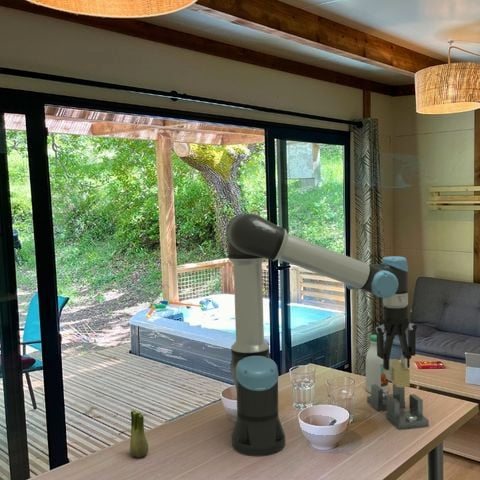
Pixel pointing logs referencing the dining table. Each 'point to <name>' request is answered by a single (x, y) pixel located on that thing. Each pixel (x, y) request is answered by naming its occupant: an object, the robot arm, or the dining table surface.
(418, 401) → the bracket
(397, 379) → the link bar
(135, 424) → the fennel bulb
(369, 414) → the dining table surface
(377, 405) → the chain end far
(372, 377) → the milk bottle
